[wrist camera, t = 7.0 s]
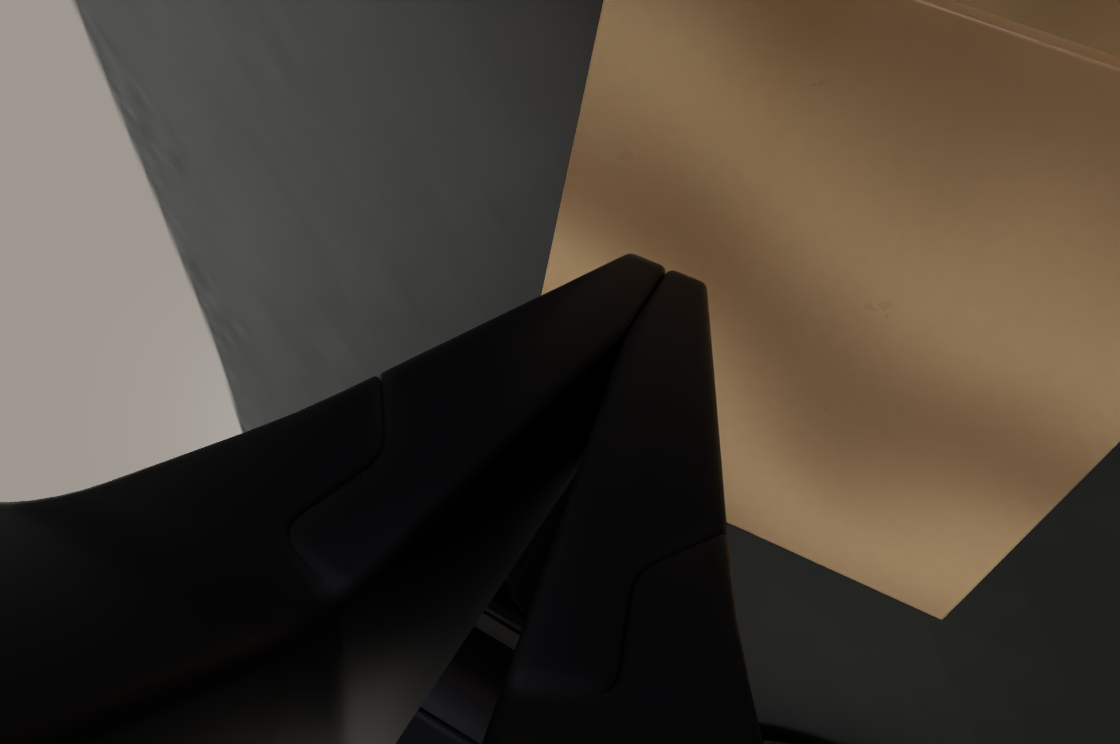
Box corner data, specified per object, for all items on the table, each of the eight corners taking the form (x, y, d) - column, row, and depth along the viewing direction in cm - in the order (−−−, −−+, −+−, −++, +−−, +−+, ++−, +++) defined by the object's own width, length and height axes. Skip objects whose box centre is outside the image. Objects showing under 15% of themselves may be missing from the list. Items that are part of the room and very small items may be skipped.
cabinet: (720, -174, 18) (623, -101, 14) (1323, 21, 16) (1398, 164, 12) (591, 305, 27) (513, 425, 23) (962, 463, 25) (942, 621, 21)
